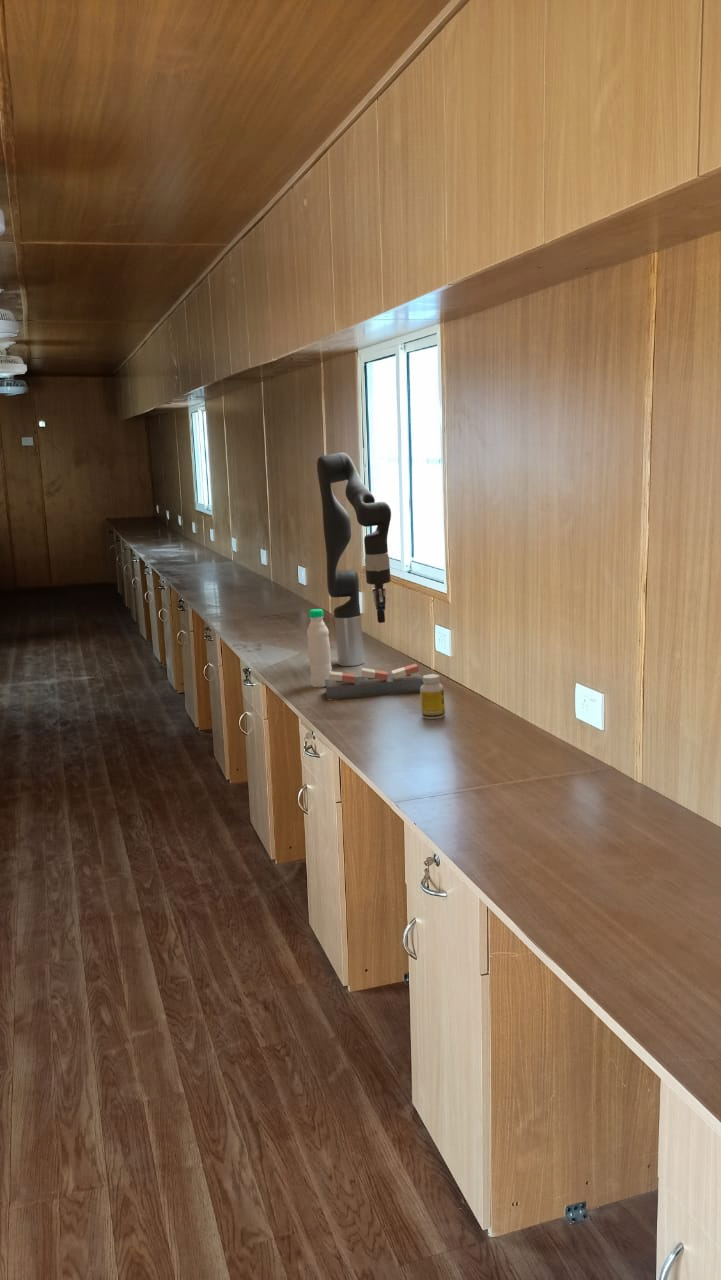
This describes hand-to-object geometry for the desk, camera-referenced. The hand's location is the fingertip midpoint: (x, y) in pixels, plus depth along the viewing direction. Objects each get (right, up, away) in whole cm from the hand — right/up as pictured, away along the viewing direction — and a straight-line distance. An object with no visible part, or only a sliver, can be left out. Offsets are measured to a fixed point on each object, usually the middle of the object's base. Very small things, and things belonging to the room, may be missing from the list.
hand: (381, 622), depth 308 cm
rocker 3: (+7, -16, -3) cm, 18 cm away
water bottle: (-19, -20, +13) cm, 31 cm away
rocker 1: (-12, -18, -4) cm, 22 cm away
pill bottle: (+14, -27, -33) cm, 45 cm away
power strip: (-2, -22, 0) cm, 22 cm away
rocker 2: (-2, -17, -4) cm, 17 cm away
